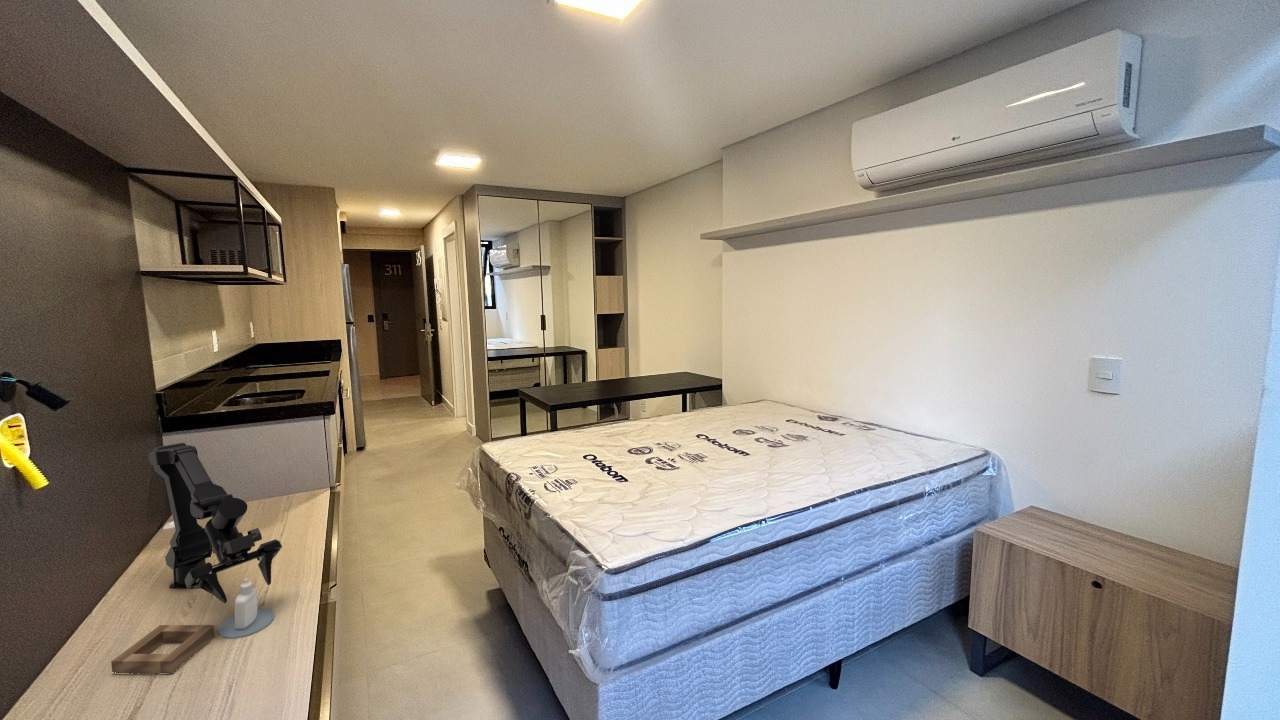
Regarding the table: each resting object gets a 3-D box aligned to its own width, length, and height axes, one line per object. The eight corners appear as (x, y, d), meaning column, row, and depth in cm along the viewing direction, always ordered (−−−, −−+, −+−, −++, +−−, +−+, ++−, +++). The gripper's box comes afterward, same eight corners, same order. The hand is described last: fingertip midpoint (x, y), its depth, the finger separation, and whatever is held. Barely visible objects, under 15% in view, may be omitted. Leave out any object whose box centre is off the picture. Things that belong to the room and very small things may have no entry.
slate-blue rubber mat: (206, 638, 121) (206, 636, 121) (239, 609, 131) (239, 608, 131) (255, 638, 121) (255, 636, 121) (284, 610, 132) (284, 608, 132)
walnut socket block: (112, 674, 108) (111, 661, 108) (161, 636, 120) (160, 625, 120) (172, 674, 109) (171, 661, 109) (214, 636, 121) (214, 625, 121)
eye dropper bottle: (264, 618, 128) (264, 575, 125) (239, 632, 123) (239, 588, 120) (252, 611, 129) (252, 569, 127) (227, 625, 124) (227, 581, 122)
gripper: (186, 536, 117) (210, 597, 113) (277, 509, 133) (301, 561, 129) (174, 558, 122) (197, 617, 118) (263, 530, 138) (286, 581, 134)
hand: (248, 592), depth 125 cm, fingers open, 9 cm apart
